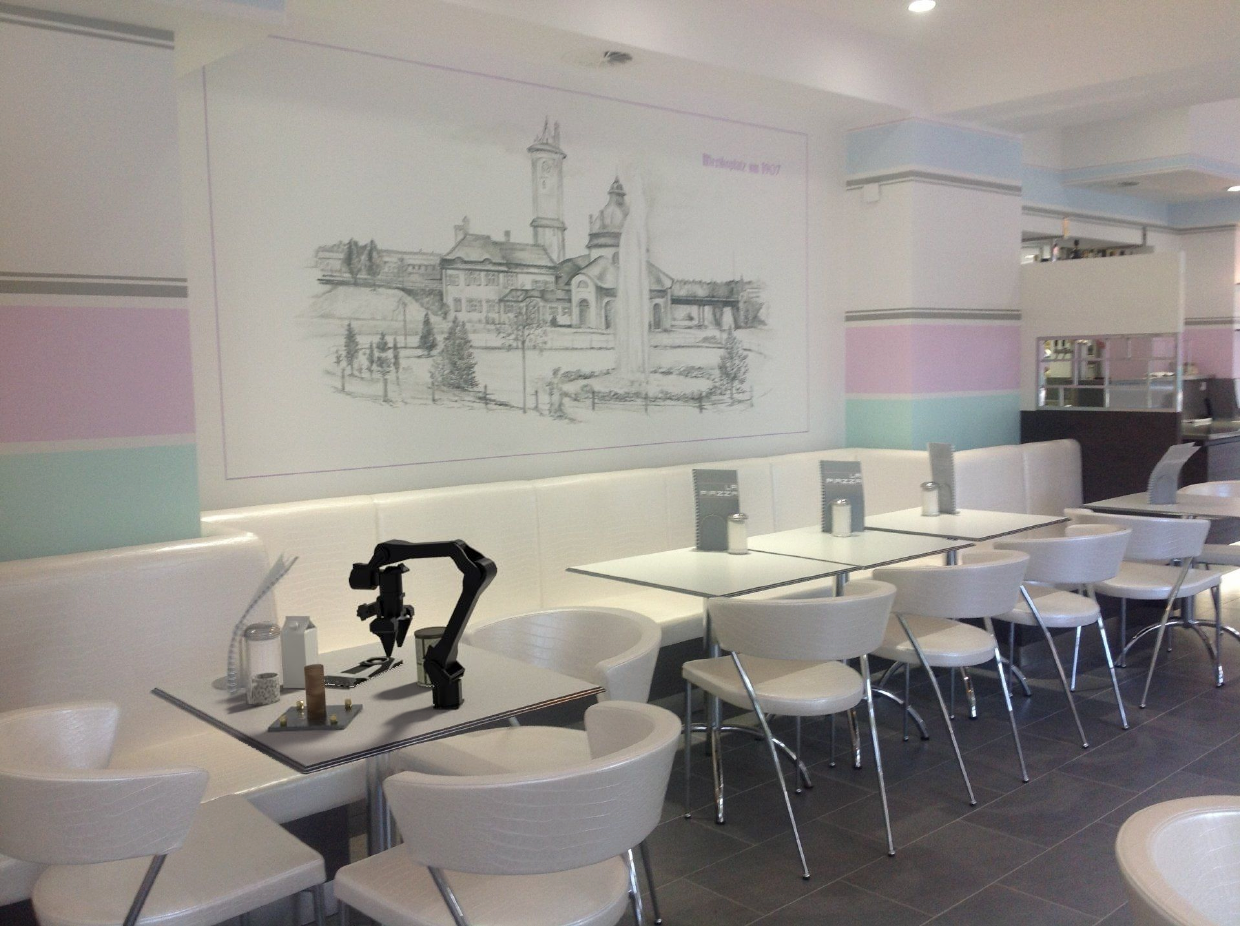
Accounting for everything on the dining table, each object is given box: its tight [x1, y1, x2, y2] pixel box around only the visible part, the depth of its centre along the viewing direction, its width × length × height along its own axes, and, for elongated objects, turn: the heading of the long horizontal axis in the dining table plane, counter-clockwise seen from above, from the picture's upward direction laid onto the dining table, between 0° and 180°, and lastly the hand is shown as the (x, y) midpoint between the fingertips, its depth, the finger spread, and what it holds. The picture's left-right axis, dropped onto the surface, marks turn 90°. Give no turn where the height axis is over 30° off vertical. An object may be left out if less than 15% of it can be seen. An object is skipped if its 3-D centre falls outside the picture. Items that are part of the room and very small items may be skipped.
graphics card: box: [324, 654, 404, 688], centre depth 294 cm, size 10×3×25 cm
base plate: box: [267, 698, 363, 733], centre depth 255 cm, size 18×16×3 cm
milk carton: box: [279, 615, 320, 689], centre depth 286 cm, size 7×7×19 cm
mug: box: [246, 672, 281, 706], centre depth 271 cm, size 10×7×7 cm
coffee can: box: [413, 625, 446, 687], centre depth 284 cm, size 10×10×14 cm
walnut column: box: [304, 663, 327, 718], centre depth 255 cm, size 4×4×12 cm
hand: (394, 651), depth 266 cm, fingers open, 9 cm apart
